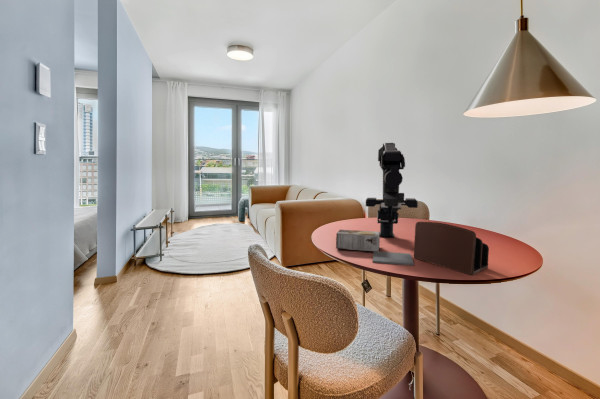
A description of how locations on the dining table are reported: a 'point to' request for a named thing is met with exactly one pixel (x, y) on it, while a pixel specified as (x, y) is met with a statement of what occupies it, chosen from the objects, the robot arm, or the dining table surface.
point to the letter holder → (450, 247)
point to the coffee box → (358, 240)
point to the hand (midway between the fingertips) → (390, 224)
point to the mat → (392, 258)
